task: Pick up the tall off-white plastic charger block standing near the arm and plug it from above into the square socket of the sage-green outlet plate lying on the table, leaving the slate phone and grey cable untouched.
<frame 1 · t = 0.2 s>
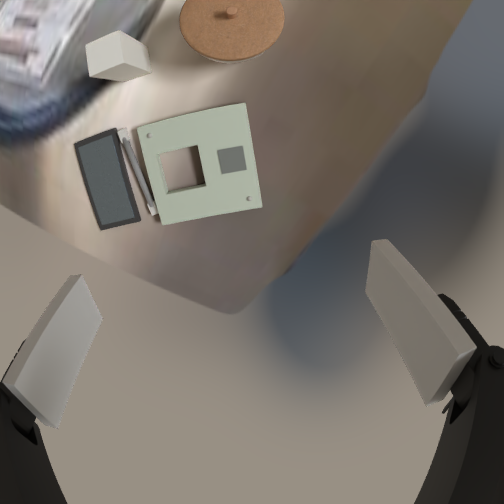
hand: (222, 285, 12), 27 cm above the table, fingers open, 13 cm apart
phone: (108, 179, 36), on the table
charger: (135, 64, 28), on the table
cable: (139, 171, 35), on the table
lidded jar: (232, 34, 27), on the table
outlet plate: (201, 163, 36), on the table
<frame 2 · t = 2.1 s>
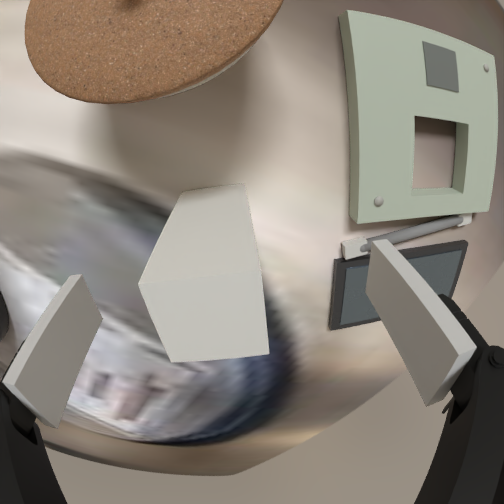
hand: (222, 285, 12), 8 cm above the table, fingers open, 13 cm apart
phone: (400, 279, 23), on the table
charger: (217, 216, 18), on the table
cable: (413, 228, 20), on the table
lidded jar: (175, 25, 12), on the table
outlet plate: (431, 121, 16), on the table
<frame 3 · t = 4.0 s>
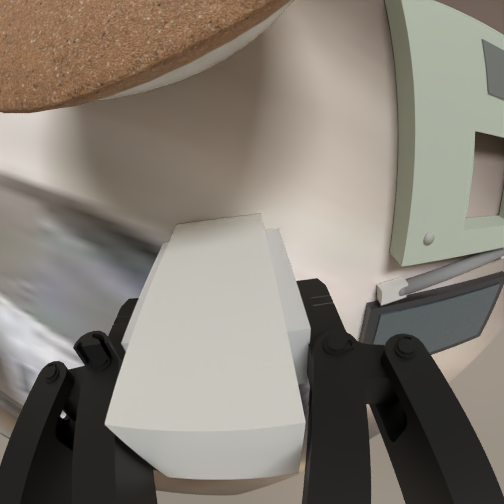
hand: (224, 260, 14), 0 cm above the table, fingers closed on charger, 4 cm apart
phone: (433, 317, 18), on the table
charger: (224, 256, 14), on the table, touching gripper
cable: (456, 264, 15), on the table
outlet plate: (485, 137, 11), on the table
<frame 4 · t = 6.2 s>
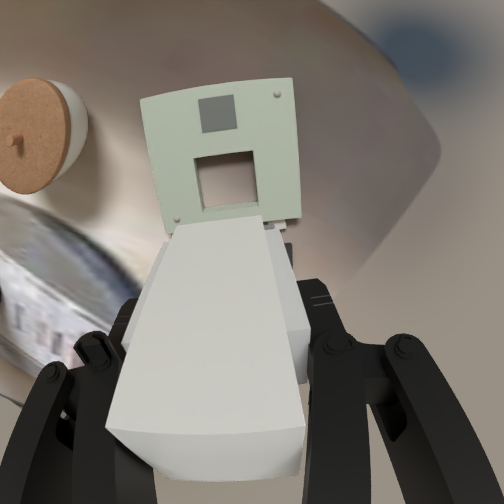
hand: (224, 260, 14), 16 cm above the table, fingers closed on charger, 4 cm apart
charger: (224, 257, 14), point 16 cm above the table, touching gripper
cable: (225, 235, 31), on the table
lidded jar: (64, 126, 23), on the table
outlet plate: (223, 154, 26), on the table
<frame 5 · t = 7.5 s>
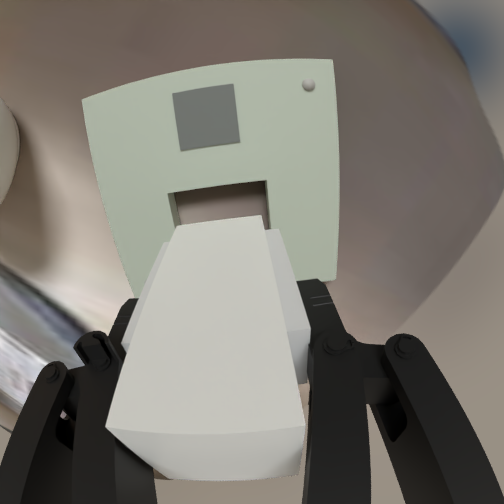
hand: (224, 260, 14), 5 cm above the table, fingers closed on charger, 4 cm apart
charger: (224, 257, 14), point 4 cm above the table, touching gripper
outlet plate: (218, 184, 17), on the table
when the fingers open (3 cm above the table, at t = 8.4 s): charger drops 3 cm, resting in outlet plate.
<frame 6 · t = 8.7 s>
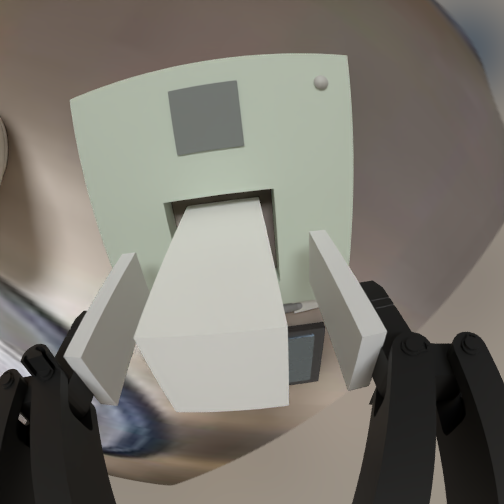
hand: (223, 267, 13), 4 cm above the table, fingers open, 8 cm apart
phone: (235, 356, 22), on the table
charger: (227, 233, 16), resting in outlet plate
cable: (225, 315, 19), on the table
outlet plate: (219, 192, 15), on the table
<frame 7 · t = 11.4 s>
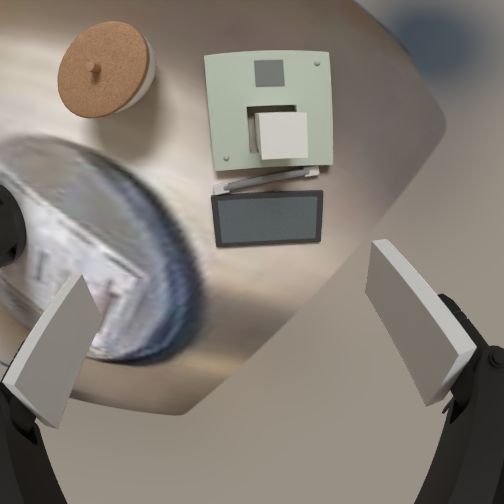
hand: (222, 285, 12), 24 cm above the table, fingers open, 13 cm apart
phone: (267, 216, 37), on the table
charger: (272, 128, 31), resting in outlet plate
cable: (266, 178, 34), on the table
lidded jar: (126, 74, 27), on the table
outlet plate: (270, 107, 30), on the table
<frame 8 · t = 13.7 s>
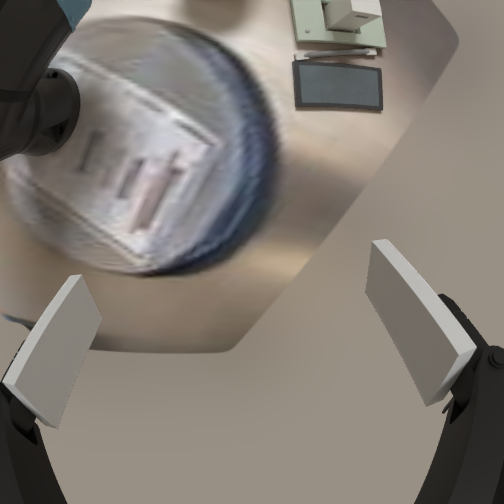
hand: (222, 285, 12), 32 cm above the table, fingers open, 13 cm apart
phone: (338, 85, 35), on the table
charger: (338, 19, 29), resting in outlet plate
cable: (336, 53, 32), on the table
outlet plate: (335, 5, 28), on the table
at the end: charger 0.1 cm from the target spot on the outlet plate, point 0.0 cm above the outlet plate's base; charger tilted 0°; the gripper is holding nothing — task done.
